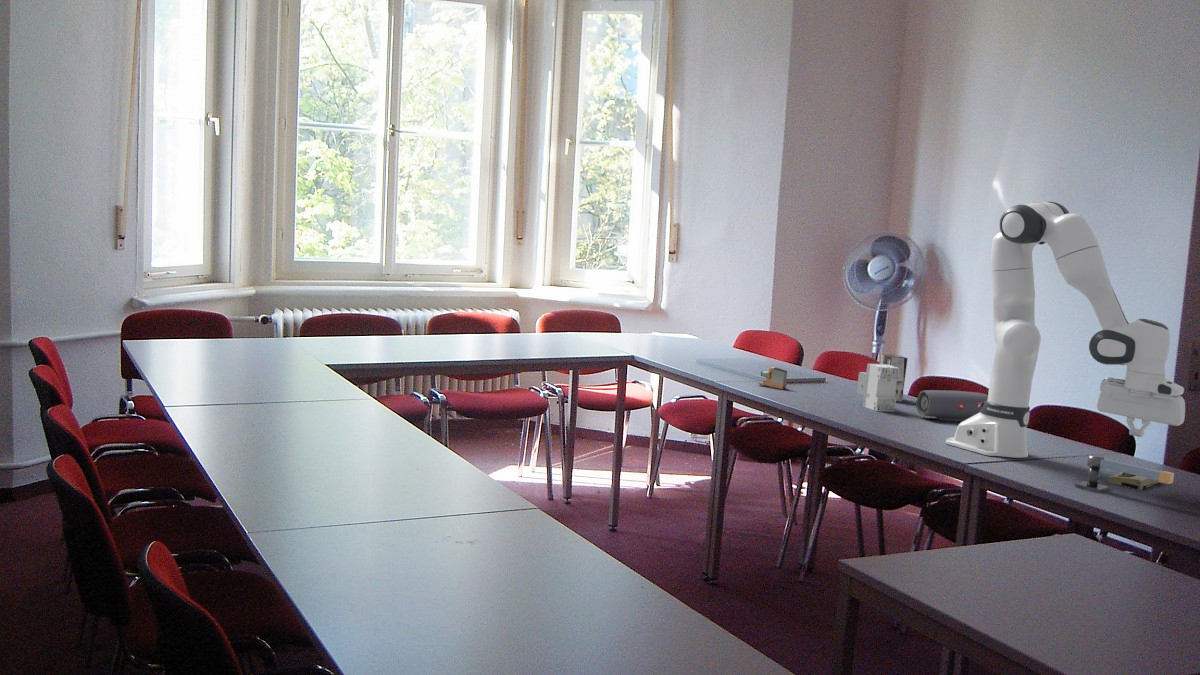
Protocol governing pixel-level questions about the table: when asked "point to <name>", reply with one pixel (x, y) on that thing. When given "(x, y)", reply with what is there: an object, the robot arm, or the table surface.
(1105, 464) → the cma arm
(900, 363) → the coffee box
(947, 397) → the bluetooth speaker
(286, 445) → the table surface
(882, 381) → the circuit breaker
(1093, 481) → the post
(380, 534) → the table surface
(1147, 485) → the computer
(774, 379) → the electronic device
